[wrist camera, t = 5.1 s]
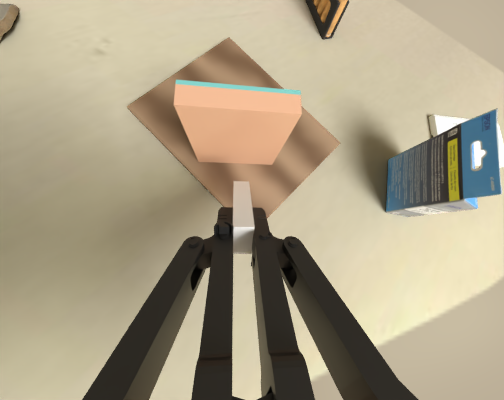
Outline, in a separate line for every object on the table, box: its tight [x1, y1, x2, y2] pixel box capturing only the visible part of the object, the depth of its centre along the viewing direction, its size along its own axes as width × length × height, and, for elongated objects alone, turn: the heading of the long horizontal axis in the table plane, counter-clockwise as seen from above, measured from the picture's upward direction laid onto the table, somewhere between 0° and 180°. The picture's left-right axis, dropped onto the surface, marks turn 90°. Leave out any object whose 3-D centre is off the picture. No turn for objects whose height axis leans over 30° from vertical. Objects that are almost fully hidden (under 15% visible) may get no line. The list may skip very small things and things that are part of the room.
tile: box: [174, 80, 302, 165], centre depth 20 cm, size 2×10×11 cm, turn 90°
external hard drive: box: [428, 115, 504, 168], centre depth 31 cm, size 2×8×12 cm
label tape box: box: [386, 108, 502, 217], centre depth 22 cm, size 9×4×12 cm, turn 169°
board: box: [127, 38, 340, 218], centre depth 27 cm, size 19×24×1 cm
